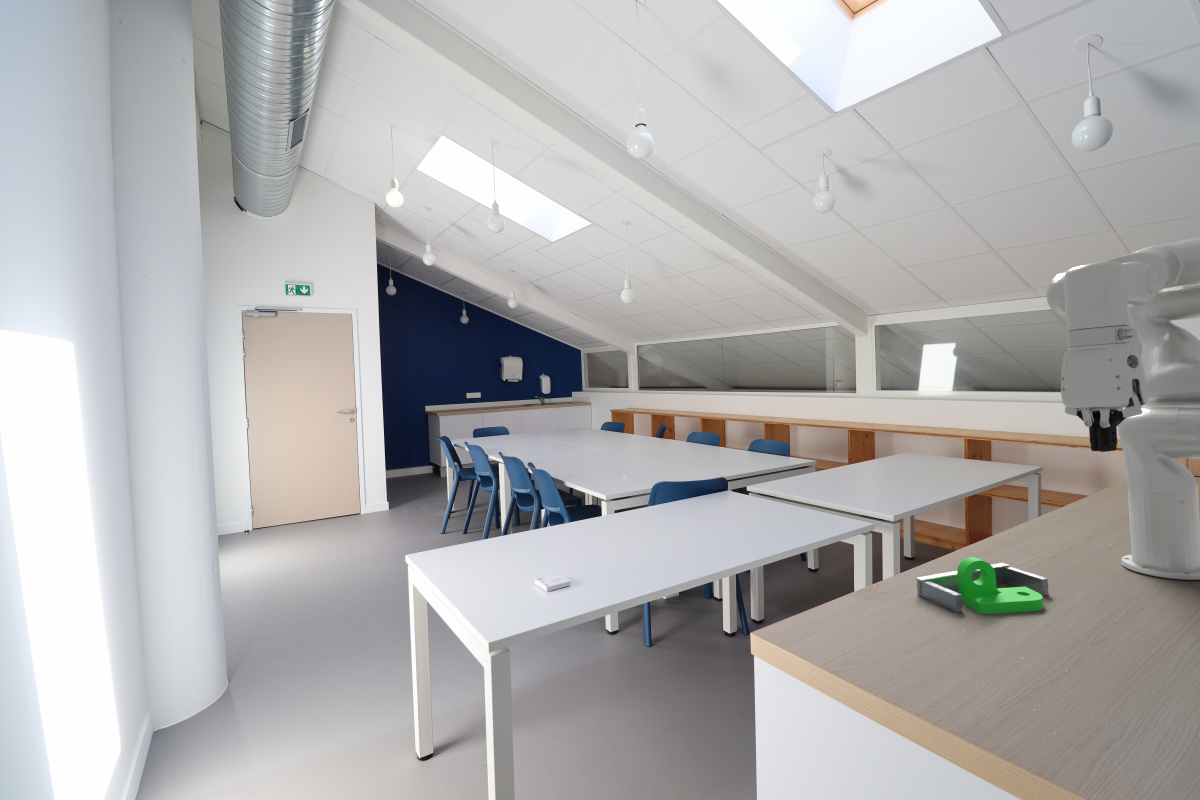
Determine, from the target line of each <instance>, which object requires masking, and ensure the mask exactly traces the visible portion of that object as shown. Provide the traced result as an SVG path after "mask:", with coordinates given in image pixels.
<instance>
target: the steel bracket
mask: <svg viewBox="0 0 1200 800" xmlns="http://www.w3.org/2000/svg"><path fill="white" fill-rule="evenodd" d="M990 565H991V566H992V567H993V568H994V570H995V574H996V585H999V584H1004V583H1005V584H1009V585H1011V586H1013V587H1027V588H1029V589H1032V590H1034V591H1036V592H1038V593H1040V594H1041V595H1042V596H1043V597H1045V596H1048V595H1049V582H1048V578H1046V577H1044V576H1040V575H1038V574H1035V573H1031V572H1029V571H1025V570H1022V569H1019V568H1015V567H1012V566H1010V564H1007V563H1005V562H1000V563H994V564H990ZM980 574H981V573H980V570H976V571H975V572H974V573H973V574H972V580H973V581H976V580H977V579H979V577H980ZM916 587H917V588H916V589H917V596H919V597H921V598H923V599H926V600H928V601H930V602H932V603H935V604H937V605H939V606H941V607H943V608H946V609H948V610H950V611H952V612H955V613H961V612H963V603H962V598H961V594H959V593H958V578H957V570H952V571H948V572H941V573H936V574H931V575H930V574H929V575H925V576H919V577H916Z"/></svg>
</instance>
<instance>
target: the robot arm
mask: <svg viewBox="0 0 1200 800" xmlns="http://www.w3.org/2000/svg"><path fill="white" fill-rule="evenodd" d="M1046 300H1047V304H1048V306H1049V308H1050V309H1051V310H1052V311H1053V312H1054V313H1056V314H1059V315H1061V316H1065V324H1066V337H1067V339H1066V340H1067V350H1065V351H1064V354H1063V357H1062V362H1061V372H1060V374H1061V375H1060V393H1061V394H1060V395H1061V401H1062V404H1063V405H1064V406H1065V409H1064V413H1066V414H1067V415H1070V416H1074V417H1078V418H1079V419H1080V420H1081V421H1083V424H1084V426H1085V427H1087V428H1088V431H1089V432H1088V433H1089V443H1090V444H1089V445H1090V451H1092V452H1101V453H1106V452H1107V453H1108V452H1114V451H1116V450H1117V448H1118V447H1117V445H1118V438H1119V442H1120V445H1121V448H1122V452H1123V455H1124V456H1123V457H1124V462H1125V469H1126V482H1127V496H1128V497H1127V500H1128V515H1129V517H1128V518H1129V529H1130V530H1129V533H1130V547H1131V548H1130V550H1131V551H1130V552H1131V553H1130V554H1126V555H1124V556H1122V557H1121V558H1120V561H1121V562H1120V563H1121V565H1122V566H1123V567H1125V568H1126V569H1128V570H1131V571H1134V572H1136V573H1138V574H1139V573H1140V574H1144V575H1148V576H1153V577H1158V578H1164V579H1172V580H1173V579H1174V580H1186V581H1187V580H1188V581H1200V510H1199V489H1198V482H1197V480H1196V478H1195V476H1194V474H1193V473H1192V472H1191V471H1190V470H1189V469H1188V468H1187V467H1186V466H1184V464H1183V463H1182V462H1180V461H1179V460H1178V459H1197V460H1200V339H1198V337H1196V336H1195V335H1194V334H1193V333H1191V332H1190V331H1188V330H1187V329H1186V328H1183V327H1181V326H1179V325H1177V324H1175V323H1173V322H1172V321H1178V320H1180V321H1181V320H1190V319H1198V318H1199V319H1200V236H1199V237H1193V238H1188V239H1183V240H1178V241H1173V242H1167V243H1162V244H1156V245H1152V246H1151V245H1150V246H1148V247H1144V248H1141V249H1138V250H1137V251H1134V252H1131V253H1127V254H1124V255H1121V256H1120V255H1119V256H1117V257H1113V258H1110V259H1106V260H1103V261H1100V262H1095V263H1088V264H1082V265H1079V266H1076V267H1075V266H1074V267H1072V268H1070V269H1068V270H1067V271H1064V272H1061V273H1058V274H1056V275H1055V276H1054V277H1053V278H1052V279H1051V281H1050V282H1049V284H1048V286H1047V289H1046ZM1129 320H1130V321H1129ZM1129 322H1130V324H1131V326H1132V328H1130V326H1129ZM1136 337H1137V338H1138V340H1139V342H1140V345H1141V348H1142V349H1141V355H1140V352H1139V350H1138V347H1137V345H1133V344H1132V345H1130V342H1131V338H1132V339H1133V338H1136ZM1142 406H1146V407H1143V408H1142ZM1124 408H1125V409H1124Z"/></svg>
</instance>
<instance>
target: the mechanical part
mask: <svg viewBox="0 0 1200 800" xmlns="http://www.w3.org/2000/svg"><path fill="white" fill-rule="evenodd" d="M991 565H992V564H990V563H989V562H987V561H986V560H983V559H982V558H978V557H974V556H971V557H965V559H963V560H962V561H961V562H960V563H959V565H958V567H957V570H956V571H957V578H958V591H957V593H959V594H961V598H962V604H964V605H965V606H966V607H968V608H970V609H972V610H974V611H975V612H977V613H978V614H980V615H988V614H989V615H990V614H1004V613H1005V614H1006V613H1018V612H1020V613H1021V612H1038V611H1041V610H1043V609H1044V596H1042V595H1041V594H1040V593H1038V592H1036V591H1034V590H1032V589H1029V588H1027V587H1016V586H1013V587H999V588H997V584H996V574H995V570H994V568H993V567H992V566H991ZM976 570H980V573H981V574H980V577H979V579H977V580H976V581H973V580H972V574H973V573H974V572H975V571H976Z"/></svg>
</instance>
